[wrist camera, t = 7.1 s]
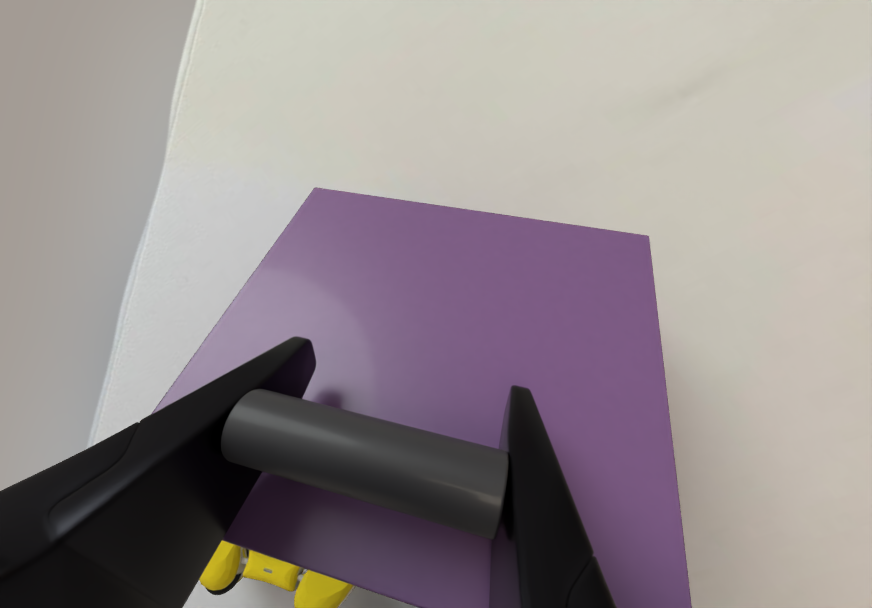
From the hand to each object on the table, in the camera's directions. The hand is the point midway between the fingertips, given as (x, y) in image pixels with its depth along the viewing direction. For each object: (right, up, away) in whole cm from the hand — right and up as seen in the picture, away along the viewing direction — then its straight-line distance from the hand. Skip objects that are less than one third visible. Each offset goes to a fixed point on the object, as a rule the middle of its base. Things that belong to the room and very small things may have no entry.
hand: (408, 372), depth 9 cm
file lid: (+1, 0, +3) cm, 3 cm away
